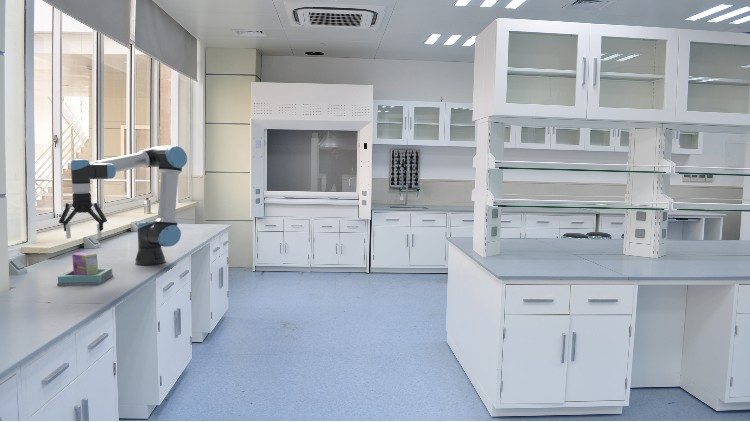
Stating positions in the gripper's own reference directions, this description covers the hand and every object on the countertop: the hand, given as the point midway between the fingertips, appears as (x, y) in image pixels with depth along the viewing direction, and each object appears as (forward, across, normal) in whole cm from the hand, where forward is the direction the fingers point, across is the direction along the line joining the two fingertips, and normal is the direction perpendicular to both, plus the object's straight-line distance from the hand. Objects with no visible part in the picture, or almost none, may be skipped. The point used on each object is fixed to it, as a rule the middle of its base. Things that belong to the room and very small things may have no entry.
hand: (84, 237), depth 246 cm
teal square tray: (+20, 0, 0) cm, 20 cm away
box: (+20, 0, 0) cm, 20 cm away
